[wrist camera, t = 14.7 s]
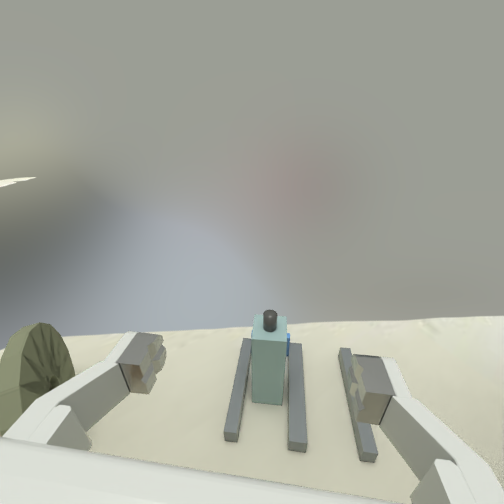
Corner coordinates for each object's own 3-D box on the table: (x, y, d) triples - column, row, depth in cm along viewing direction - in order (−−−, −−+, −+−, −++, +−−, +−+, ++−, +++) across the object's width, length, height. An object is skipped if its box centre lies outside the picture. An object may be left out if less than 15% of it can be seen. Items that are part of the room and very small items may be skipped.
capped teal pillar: (281, 378, 37) (287, 304, 30) (281, 405, 33) (288, 328, 27) (254, 375, 37) (254, 302, 30) (252, 402, 34) (251, 326, 27)
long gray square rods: (347, 357, 40) (352, 339, 38) (374, 462, 28) (382, 444, 26) (243, 346, 42) (243, 329, 40) (224, 440, 30) (222, 421, 28)
